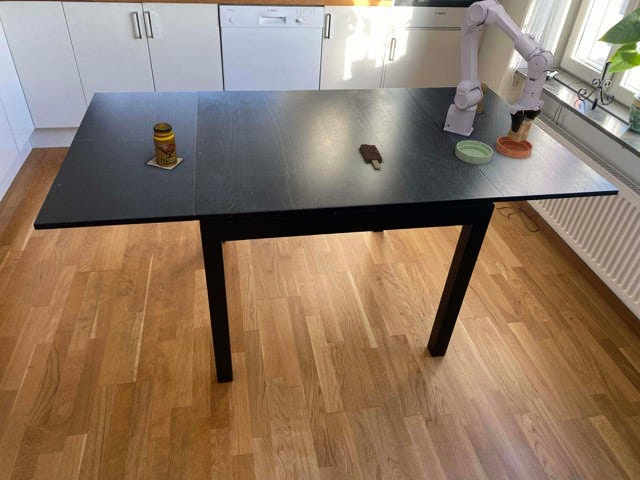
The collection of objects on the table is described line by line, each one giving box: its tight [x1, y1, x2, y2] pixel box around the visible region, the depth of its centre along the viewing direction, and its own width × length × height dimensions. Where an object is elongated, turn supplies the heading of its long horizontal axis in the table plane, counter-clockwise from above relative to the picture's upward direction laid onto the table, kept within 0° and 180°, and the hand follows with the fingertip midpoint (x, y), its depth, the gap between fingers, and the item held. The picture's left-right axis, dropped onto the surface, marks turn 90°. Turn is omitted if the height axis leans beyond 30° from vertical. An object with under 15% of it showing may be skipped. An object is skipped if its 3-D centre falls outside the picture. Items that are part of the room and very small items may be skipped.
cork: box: [475, 82, 489, 115], centre depth 199 cm, size 6×6×11 cm
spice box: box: [506, 117, 534, 142], centre depth 170 cm, size 5×5×7 cm
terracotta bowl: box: [494, 135, 534, 160], centre depth 174 cm, size 12×12×3 cm
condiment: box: [146, 122, 184, 170], centre depth 151 cm, size 7×8×12 cm
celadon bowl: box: [454, 140, 494, 165], centre depth 169 cm, size 12×12×3 cm
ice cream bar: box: [359, 143, 383, 170], centre depth 164 cm, size 5×2×15 cm
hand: (519, 130), depth 170 cm, fingers closed on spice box, 4 cm apart
